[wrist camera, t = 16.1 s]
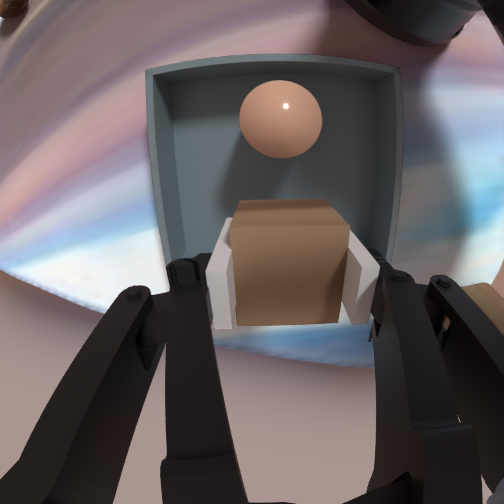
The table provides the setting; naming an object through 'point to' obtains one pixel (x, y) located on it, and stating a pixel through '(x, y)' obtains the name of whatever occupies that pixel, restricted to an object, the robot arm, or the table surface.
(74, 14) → the table surface
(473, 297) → the wooden block
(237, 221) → the walnut cube
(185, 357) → the robot arm
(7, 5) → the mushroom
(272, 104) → the peach colored egg
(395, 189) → the tote
